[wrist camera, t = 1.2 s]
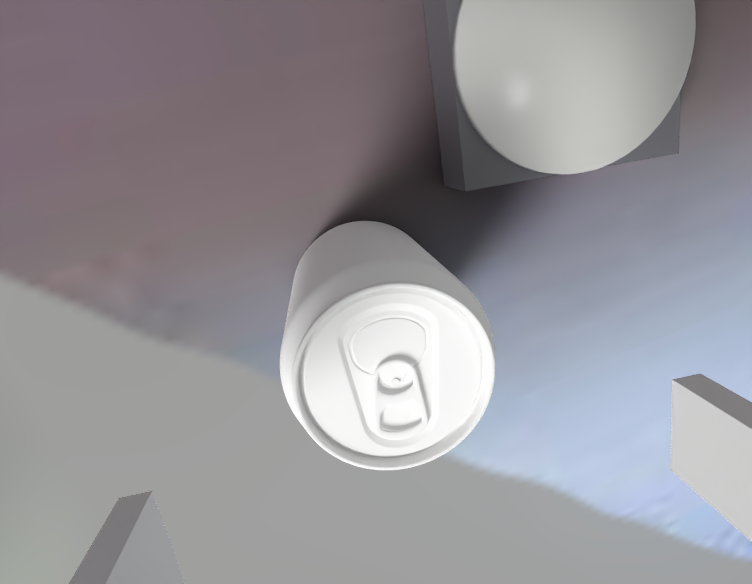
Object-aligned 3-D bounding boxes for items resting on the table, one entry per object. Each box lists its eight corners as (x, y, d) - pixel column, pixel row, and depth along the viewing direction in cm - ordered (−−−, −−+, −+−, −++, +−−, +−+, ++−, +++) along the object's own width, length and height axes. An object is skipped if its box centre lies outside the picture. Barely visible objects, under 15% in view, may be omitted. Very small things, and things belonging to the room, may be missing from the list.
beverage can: (422, 208, 27) (501, 249, 15) (437, 338, 29) (515, 457, 18) (280, 231, 26) (252, 292, 15) (307, 362, 29) (301, 501, 17)
